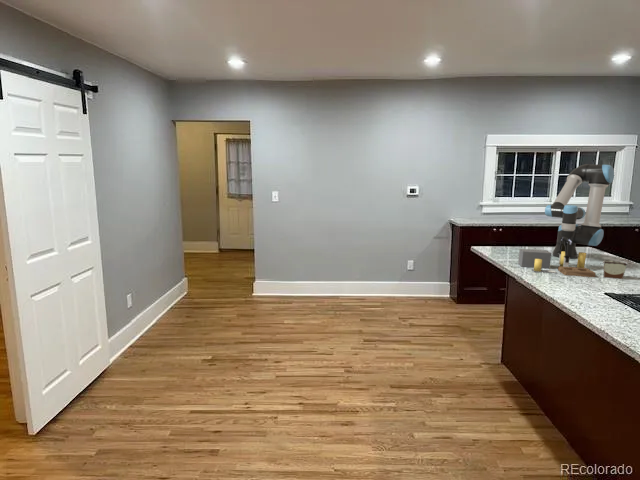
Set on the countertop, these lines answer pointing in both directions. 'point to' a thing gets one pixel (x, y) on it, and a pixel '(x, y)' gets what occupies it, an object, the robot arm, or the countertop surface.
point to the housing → (529, 257)
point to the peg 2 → (581, 260)
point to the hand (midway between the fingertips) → (563, 265)
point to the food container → (614, 268)
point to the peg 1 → (562, 258)
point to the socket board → (576, 271)
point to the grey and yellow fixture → (538, 267)
